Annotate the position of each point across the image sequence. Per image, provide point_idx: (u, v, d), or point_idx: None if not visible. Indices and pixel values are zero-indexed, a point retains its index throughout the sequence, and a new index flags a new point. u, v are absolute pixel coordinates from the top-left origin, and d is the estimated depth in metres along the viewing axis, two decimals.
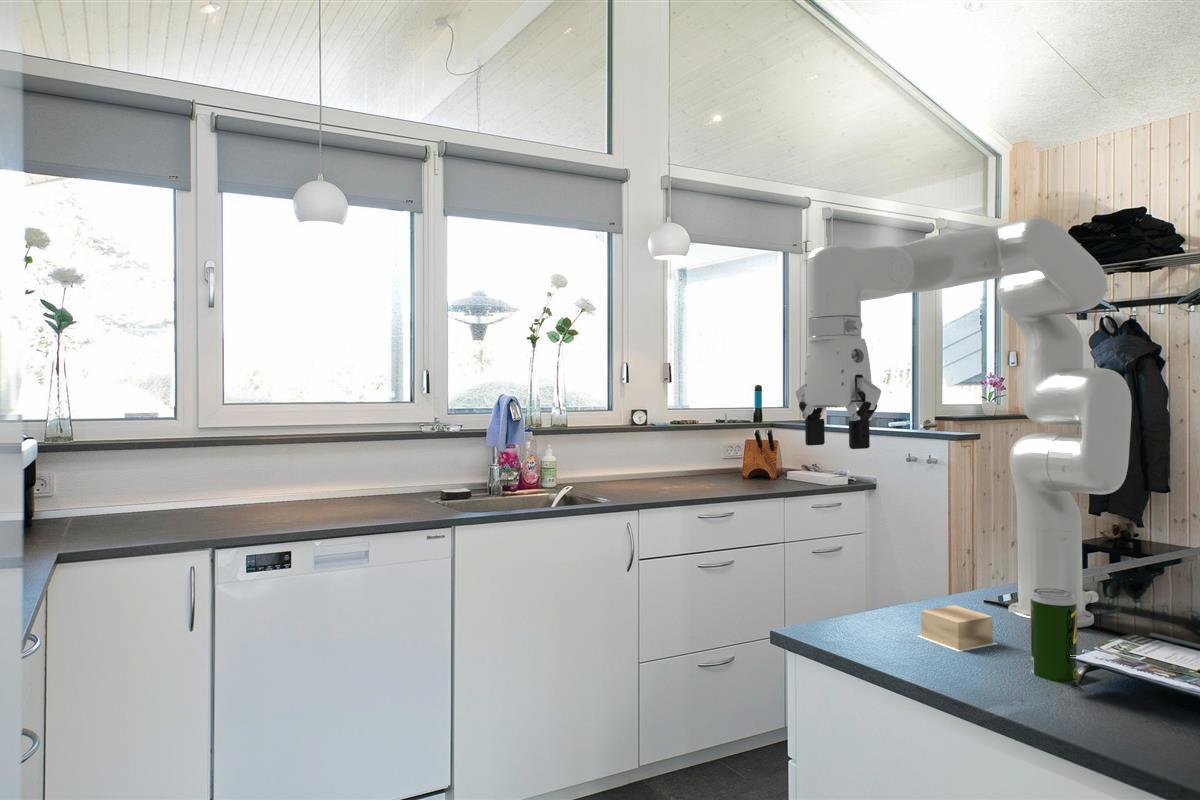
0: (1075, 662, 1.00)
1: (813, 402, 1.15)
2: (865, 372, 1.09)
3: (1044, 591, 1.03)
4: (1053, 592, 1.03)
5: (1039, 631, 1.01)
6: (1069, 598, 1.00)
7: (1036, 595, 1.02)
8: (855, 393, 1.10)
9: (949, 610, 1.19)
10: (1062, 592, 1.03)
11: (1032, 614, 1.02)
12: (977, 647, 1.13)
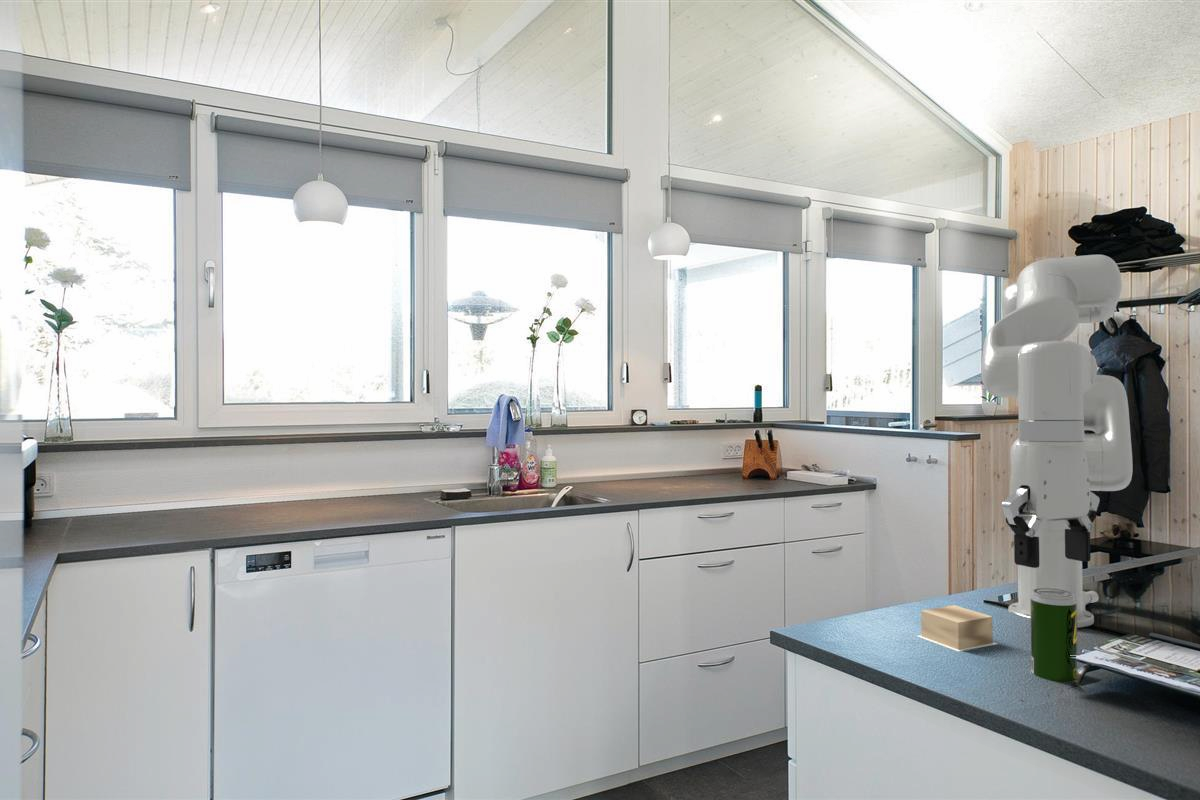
0: (1075, 662, 1.00)
1: (1053, 516, 0.99)
2: None
3: (1044, 591, 1.03)
4: (1053, 592, 1.03)
5: (1039, 631, 1.01)
6: (1069, 598, 1.00)
7: (1036, 595, 1.02)
8: None
9: (949, 610, 1.19)
10: (1062, 592, 1.03)
11: (1032, 614, 1.02)
12: (977, 647, 1.13)
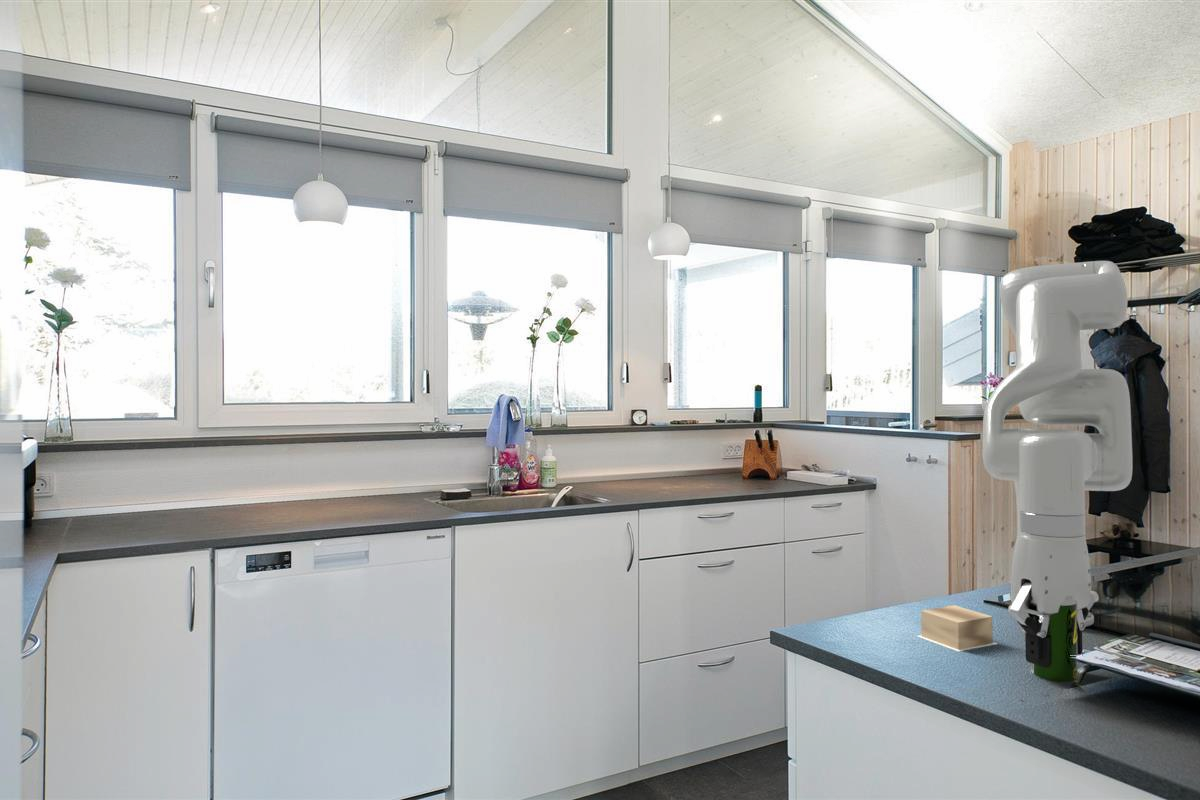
0: (1075, 662, 1.00)
1: (1054, 610, 0.99)
2: None
3: None
4: None
5: None
6: (1069, 598, 1.00)
7: None
8: None
9: (949, 610, 1.19)
10: None
11: None
12: (977, 647, 1.13)
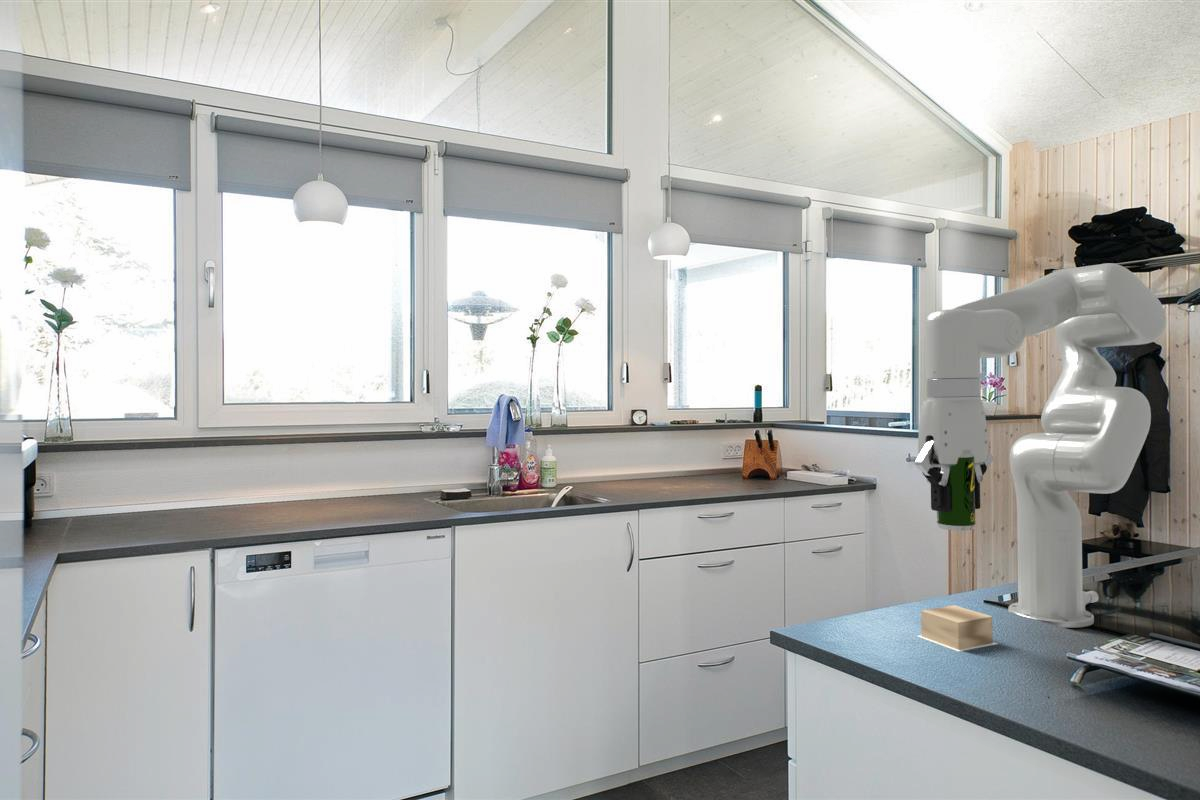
0: (972, 507, 1.15)
1: (953, 461, 1.14)
2: None
3: None
4: None
5: None
6: (967, 451, 1.14)
7: None
8: None
9: (949, 610, 1.19)
10: None
11: None
12: (977, 647, 1.13)
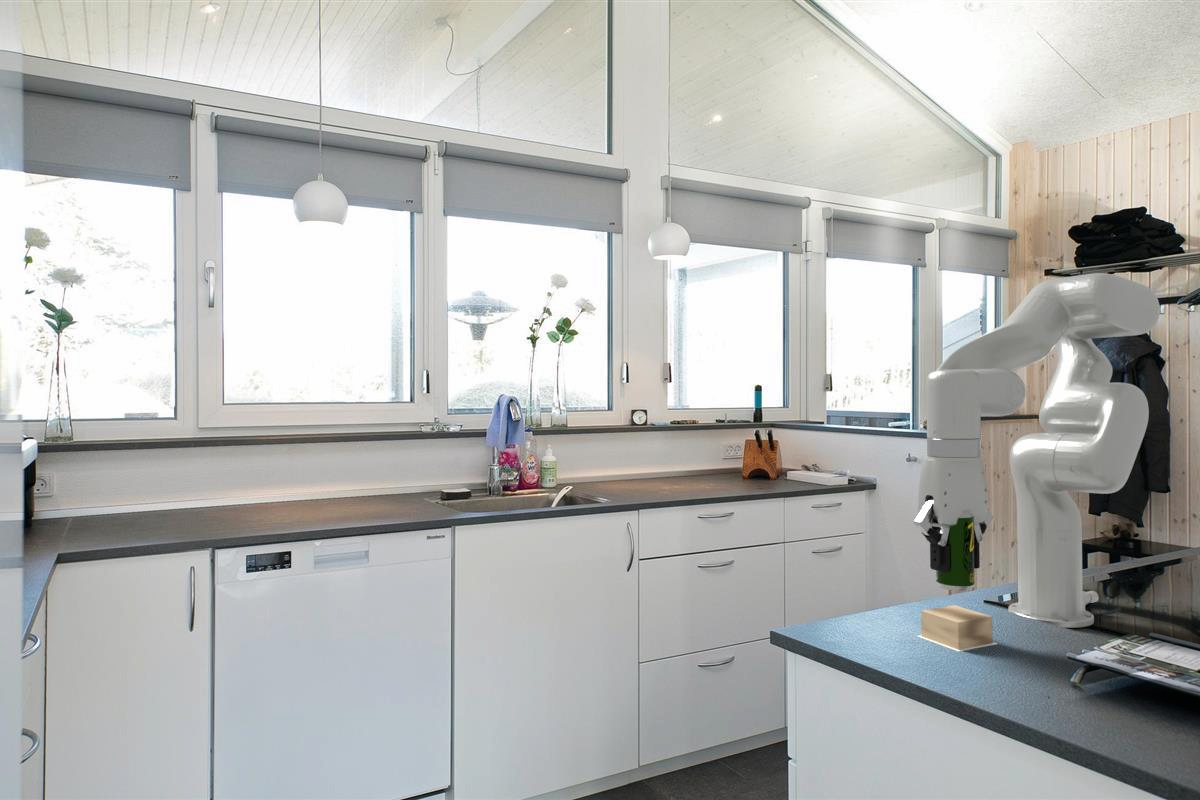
0: (971, 568, 1.15)
1: (953, 522, 1.14)
2: None
3: None
4: None
5: None
6: (966, 512, 1.15)
7: None
8: None
9: (949, 610, 1.19)
10: None
11: None
12: (977, 647, 1.13)
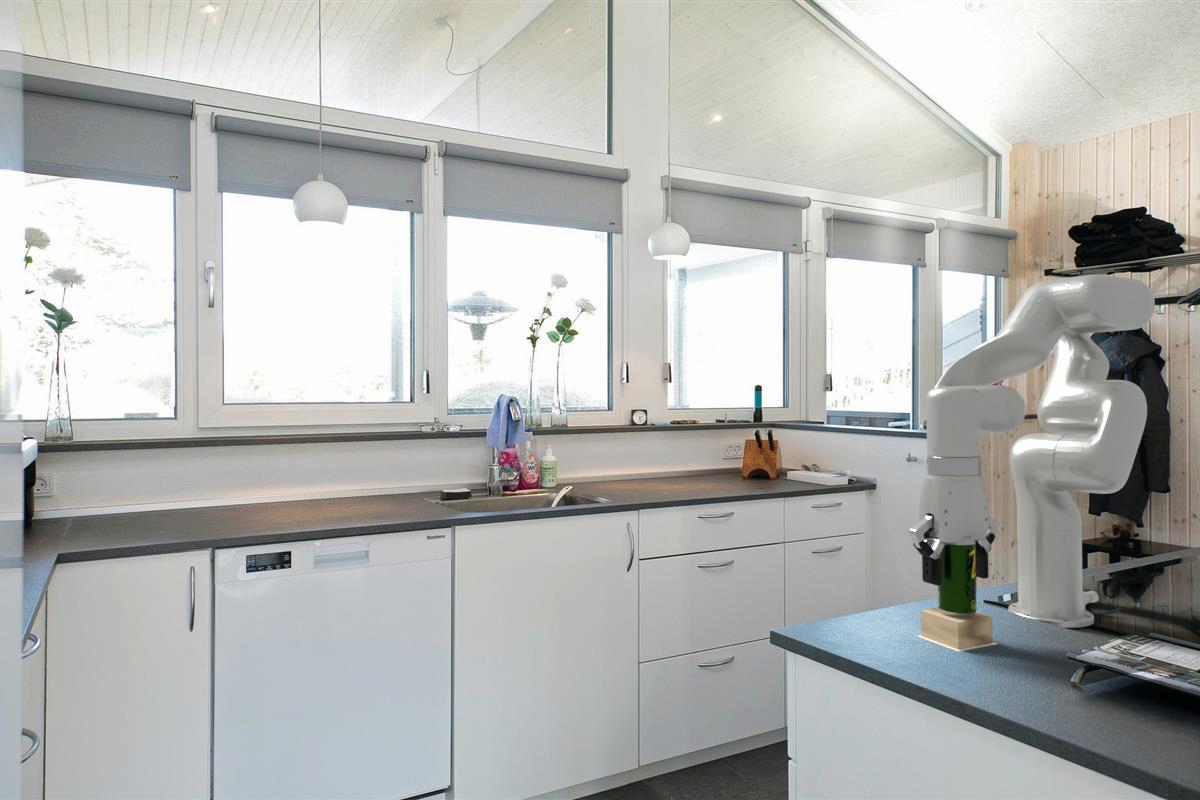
0: (973, 595, 1.15)
1: (953, 540, 1.14)
2: None
3: None
4: None
5: (943, 568, 1.16)
6: (968, 539, 1.15)
7: None
8: None
9: None
10: None
11: None
12: (977, 647, 1.13)
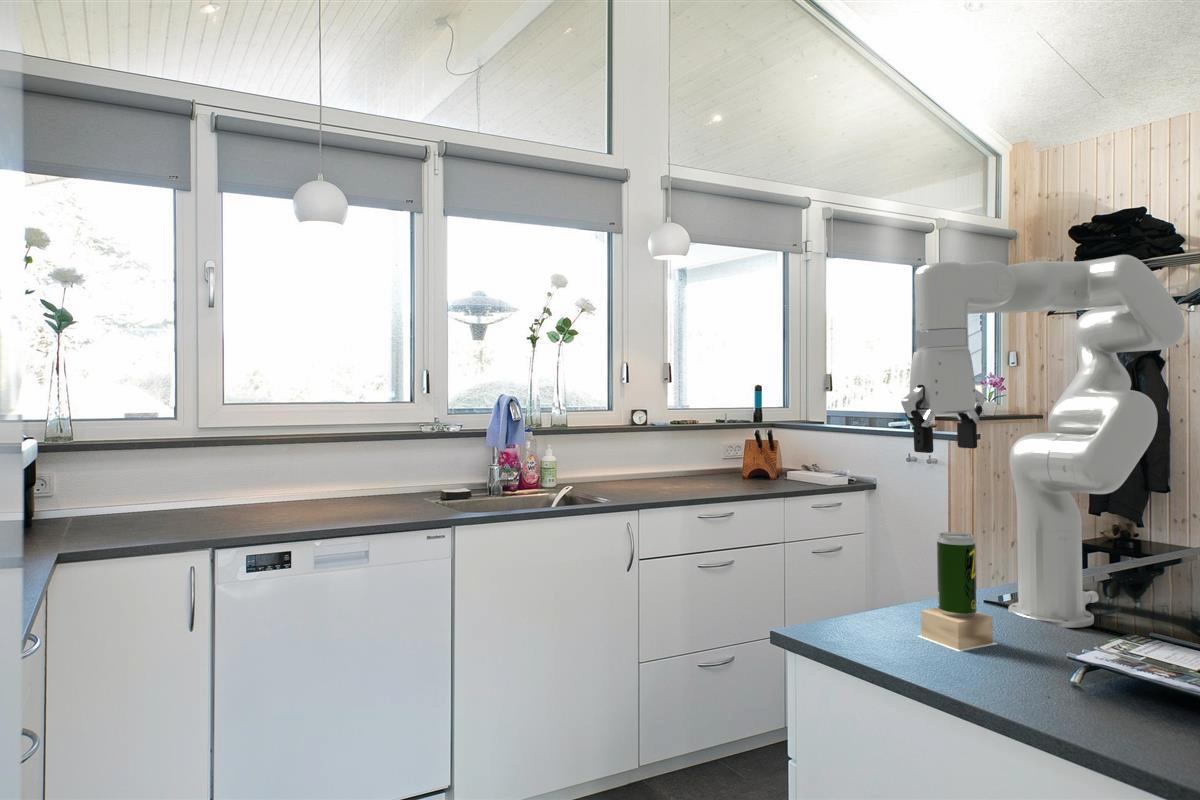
0: (973, 595, 1.15)
1: (944, 409, 1.18)
2: None
3: (949, 534, 1.18)
4: (956, 535, 1.17)
5: (943, 568, 1.16)
6: (968, 539, 1.15)
7: (941, 537, 1.17)
8: None
9: None
10: (964, 535, 1.18)
11: (938, 554, 1.17)
12: (977, 647, 1.13)
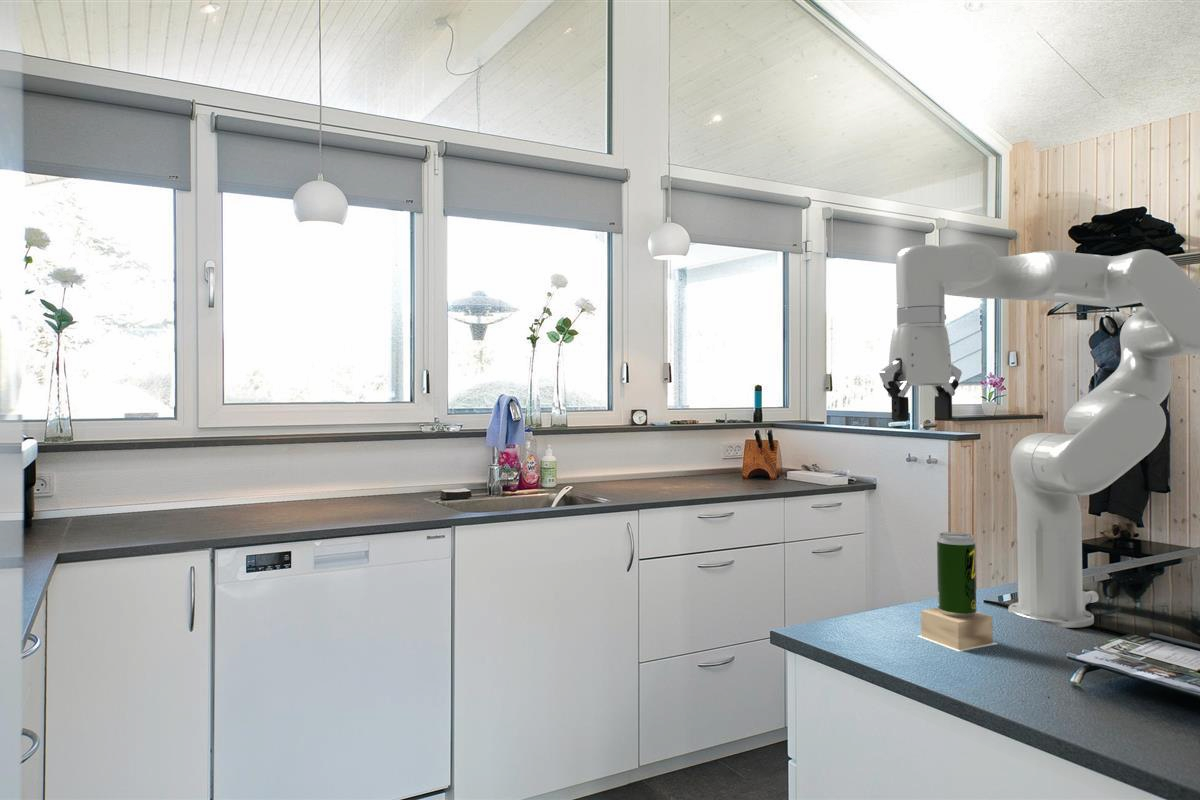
0: (973, 595, 1.15)
1: (919, 381, 1.27)
2: None
3: (949, 534, 1.18)
4: (956, 535, 1.17)
5: (943, 568, 1.16)
6: (968, 539, 1.15)
7: (941, 537, 1.17)
8: None
9: None
10: (964, 535, 1.18)
11: (938, 554, 1.17)
12: (977, 647, 1.13)
